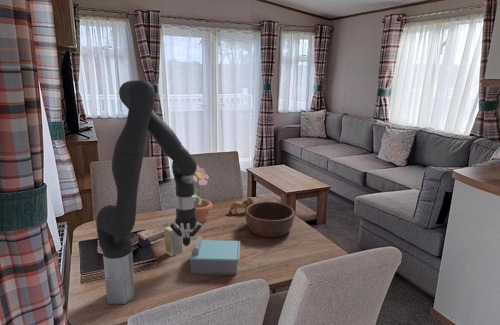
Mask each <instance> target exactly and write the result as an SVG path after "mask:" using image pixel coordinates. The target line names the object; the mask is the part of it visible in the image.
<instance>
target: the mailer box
mask: <svg viewBox="0 0 500 325" xmlns="http://www.w3.org/2000/svg"><path fill="white" fill-rule="evenodd" d="M189 260H190V259H189ZM237 272H238V252H237V261H211V260H190V274H191V275H217V276H218V275H219V276H220V275H223V276H224V275H227V276H229V275H231V276H237V275H238V274H237Z"/></svg>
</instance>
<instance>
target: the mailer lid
mask: <svg viewBox="0 0 500 325" xmlns="http://www.w3.org/2000/svg"><path fill="white" fill-rule="evenodd" d="M240 251H241V240H217V239H216V240H215V239H213V240H210V239H203V236H202V235H201V236H199V235H198V236H197V238H196V240H195V243H194V245H193V248H192V252H191V254H190V258H189V260H211V261H237V252H238V262H237V266H239V265H240V258H241V257H240V256H241V255H240V254H241V252H240Z"/></svg>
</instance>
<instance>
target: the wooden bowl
mask: <svg viewBox="0 0 500 325" xmlns="http://www.w3.org/2000/svg"><path fill="white" fill-rule="evenodd" d="M295 215H296V213H295V210H294V209H293V207H291V206H289V205H288V204H284V203H282V202H279V201H278V202H276V201H258V202H254V203H253V204H251V205H249V206H247V207H246V209H245V208H244V216H245V221H246V225H247V227H248V229H249V231H250V232H251V233H252V234H254V235H256V236H259V237H262V238H272V239H273V238H279V237H283V236H284V235H287V234H288V233H289V232H290V230H291V229H292V226H293V224H294V220H295Z"/></svg>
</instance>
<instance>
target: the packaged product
mask: <svg viewBox="0 0 500 325" xmlns="http://www.w3.org/2000/svg"><path fill="white" fill-rule="evenodd" d="M170 225H171V224H168V223H164V224H161V225H158V226H154V227H151V228H148V229H146V230H141V231H139V232H137V233H136V234H135V235H138V236H139V237H140V238H141V239H143V240H146V239H149V240H150V242H151V244H152V245H155V244H159V243H161V242H163V241H164V242H165V231H164V228H166V227H168V226H170Z"/></svg>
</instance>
